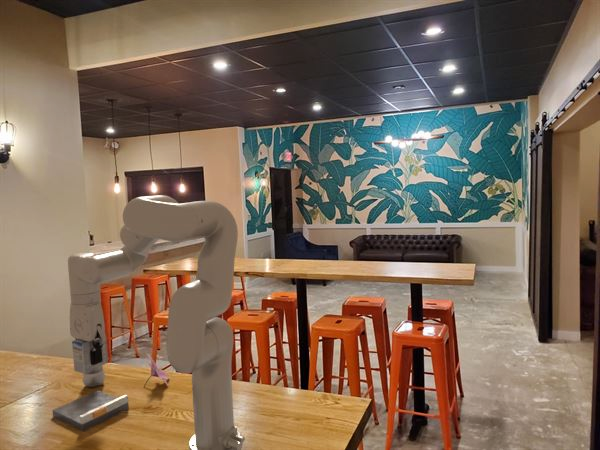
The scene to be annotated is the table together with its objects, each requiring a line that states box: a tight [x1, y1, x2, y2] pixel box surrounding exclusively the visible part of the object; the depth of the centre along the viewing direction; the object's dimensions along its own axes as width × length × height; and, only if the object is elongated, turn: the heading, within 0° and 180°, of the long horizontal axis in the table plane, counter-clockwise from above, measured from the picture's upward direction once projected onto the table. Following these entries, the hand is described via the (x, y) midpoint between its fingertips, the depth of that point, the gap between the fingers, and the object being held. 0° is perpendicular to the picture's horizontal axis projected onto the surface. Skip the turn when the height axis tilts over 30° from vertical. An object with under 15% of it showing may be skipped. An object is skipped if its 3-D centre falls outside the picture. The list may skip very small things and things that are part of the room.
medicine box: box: [71, 334, 109, 374], centre depth 130 cm, size 8×4×9 cm, turn 153°
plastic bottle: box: [82, 365, 106, 388], centre depth 150 cm, size 6×7×20 cm
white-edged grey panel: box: [51, 390, 130, 432], centre depth 132 cm, size 15×14×4 cm
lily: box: [143, 353, 171, 388], centre depth 149 cm, size 12×12×10 cm
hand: (90, 360), depth 130 cm, fingers closed on medicine box, 4 cm apart
